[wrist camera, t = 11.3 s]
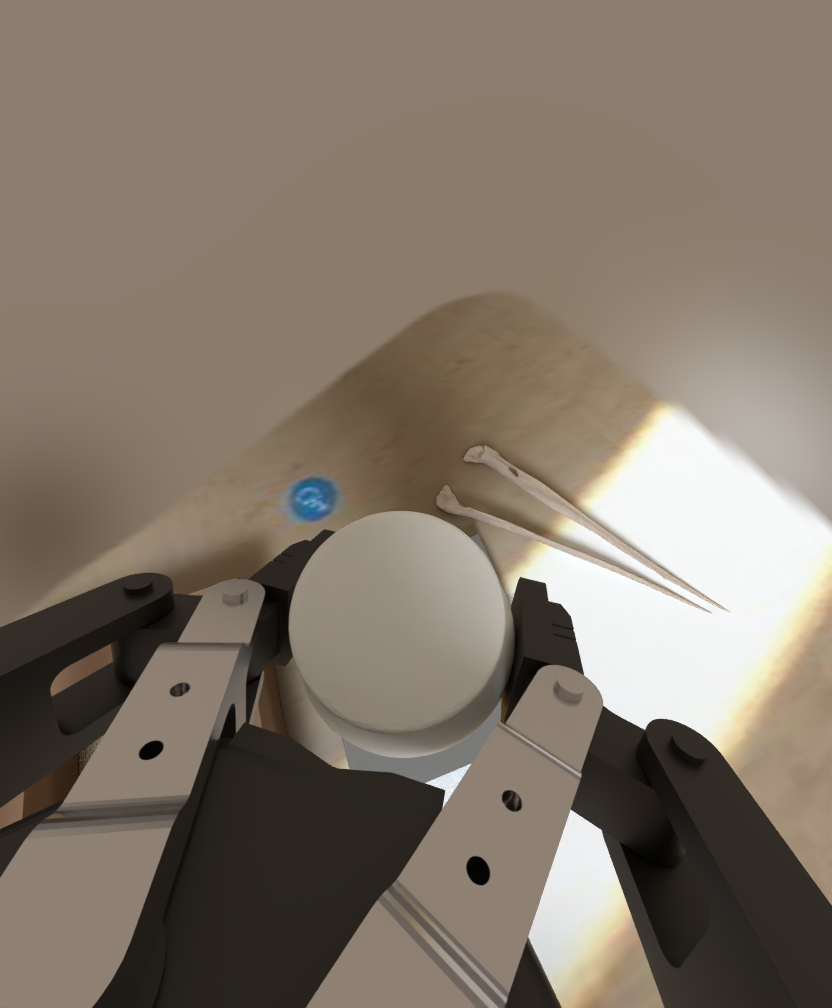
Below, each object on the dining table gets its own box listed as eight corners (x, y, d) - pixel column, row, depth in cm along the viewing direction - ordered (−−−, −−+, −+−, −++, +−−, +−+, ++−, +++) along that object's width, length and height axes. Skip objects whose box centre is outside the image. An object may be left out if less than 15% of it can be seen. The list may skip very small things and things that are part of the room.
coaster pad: (477, 539, 21) (478, 533, 20) (560, 722, 17) (565, 723, 17) (312, 599, 20) (308, 596, 20) (363, 805, 16) (359, 810, 16)
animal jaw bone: (430, 510, 23) (431, 496, 21) (471, 449, 24) (475, 431, 22) (745, 693, 19) (781, 695, 17) (769, 607, 20) (804, 600, 19)
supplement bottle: (335, 717, 15) (197, 750, 6) (366, 579, 17) (293, 465, 9) (478, 745, 14) (539, 823, 6) (491, 598, 17) (548, 495, 8)
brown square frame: (259, 589, 21) (237, 576, 18) (313, 875, 16) (290, 906, 13) (22, 675, 20) (-33, 673, 17) (-3, 1011, 15) (-85, 1069, 12)
